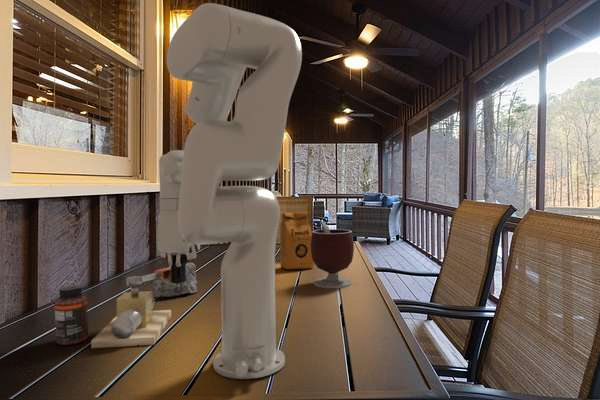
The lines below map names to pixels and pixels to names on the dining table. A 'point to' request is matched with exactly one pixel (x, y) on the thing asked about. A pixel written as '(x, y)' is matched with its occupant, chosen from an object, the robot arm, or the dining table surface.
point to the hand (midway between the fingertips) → (178, 282)
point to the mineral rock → (172, 289)
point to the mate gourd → (332, 255)
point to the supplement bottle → (71, 316)
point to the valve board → (134, 333)
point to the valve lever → (149, 277)
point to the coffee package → (295, 241)
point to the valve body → (132, 312)
